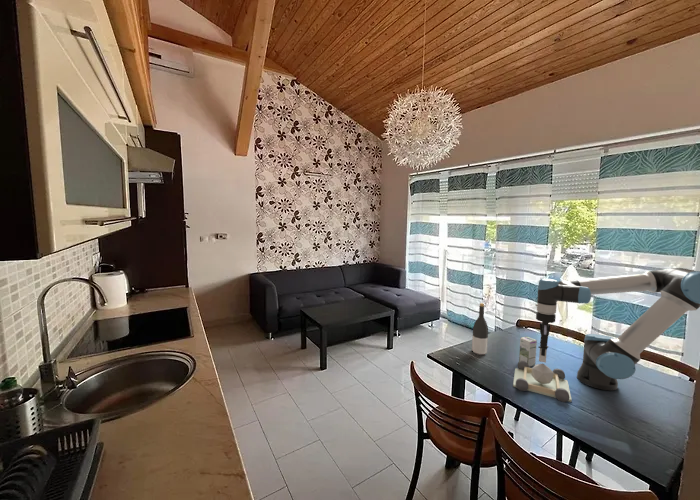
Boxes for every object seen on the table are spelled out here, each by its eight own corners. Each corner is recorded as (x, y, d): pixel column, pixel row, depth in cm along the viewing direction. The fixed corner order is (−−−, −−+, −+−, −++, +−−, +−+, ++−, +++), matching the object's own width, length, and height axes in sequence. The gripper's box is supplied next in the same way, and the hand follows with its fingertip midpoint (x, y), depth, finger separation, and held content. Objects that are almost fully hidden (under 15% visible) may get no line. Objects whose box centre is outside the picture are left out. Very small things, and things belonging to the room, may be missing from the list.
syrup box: (535, 366, 160) (537, 339, 158) (527, 367, 157) (529, 341, 156) (525, 361, 165) (527, 336, 164) (518, 363, 163) (519, 337, 161)
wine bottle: (468, 352, 176) (471, 302, 173) (478, 350, 179) (481, 301, 176) (479, 357, 168) (482, 306, 166) (489, 355, 172) (492, 304, 169)
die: (556, 390, 135) (558, 368, 134) (534, 387, 136) (536, 366, 135) (547, 380, 143) (549, 360, 142) (527, 378, 145) (528, 358, 144)
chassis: (566, 380, 145) (567, 370, 145) (571, 404, 126) (572, 393, 125) (515, 368, 157) (516, 359, 156) (512, 388, 137) (513, 378, 137)
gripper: (536, 307, 146) (533, 354, 148) (536, 314, 134) (532, 364, 137) (554, 310, 142) (551, 358, 144) (556, 317, 131) (552, 369, 133)
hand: (542, 361), depth 140 cm, fingers closed
